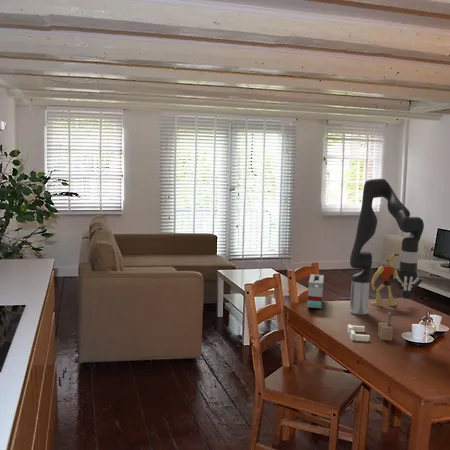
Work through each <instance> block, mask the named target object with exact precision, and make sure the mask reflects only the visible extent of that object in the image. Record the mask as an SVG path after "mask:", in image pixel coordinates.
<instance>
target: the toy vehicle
mask: <svg viewBox="0 0 450 450" xmlns="http://www.w3.org/2000/svg"><path fill="white" fill-rule="evenodd" d="M324 279H325V276H324V274H313V273H311V274H310V276H309V280H308V291H307V304H306V307H307V308H312V309H322V306H323V305H322V304H323V298H324V296H323V295H324V287H325V285H324Z"/></svg>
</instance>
